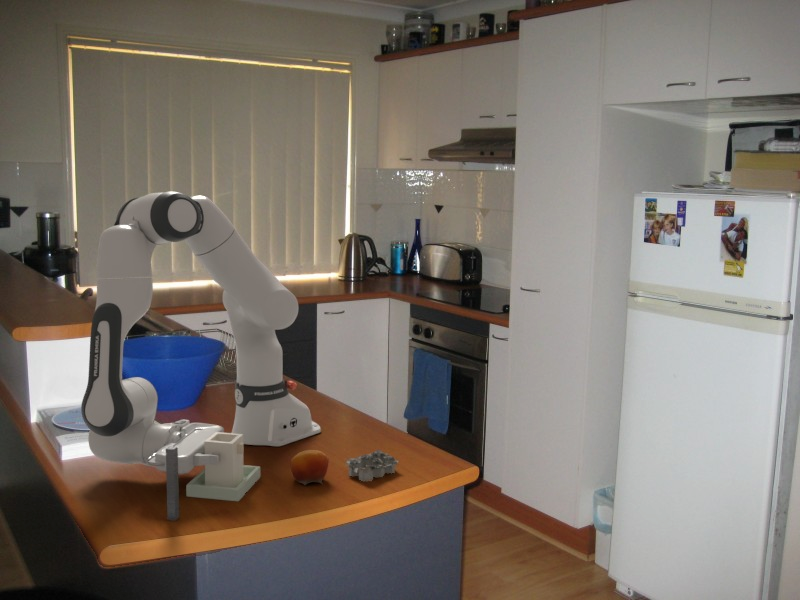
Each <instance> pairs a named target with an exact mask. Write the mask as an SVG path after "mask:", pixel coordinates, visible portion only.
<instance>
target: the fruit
mask: <svg viewBox="0 0 800 600" xmlns="http://www.w3.org/2000/svg"><path fill="white" fill-rule="evenodd" d="M329 463H330V461H329V457H328V455H327V454H326V453H325V452H323V451H321V450H317V449H305V450H302V451H300V452H298V453H297V454H295V455H294V456H293V457H292V458H291V460H290V469H291V473H292V476H293V478H294V480H295V481H296V482H297V483H299V484H302V485H304V486H306V485H308V484H310V483H319V484H322V486H324V484H323V480H324V479H325V476H326V475H327V472H328V468H329Z"/></svg>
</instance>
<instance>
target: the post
mask: <svg viewBox="0 0 800 600" xmlns="http://www.w3.org/2000/svg"><path fill="white" fill-rule="evenodd" d="M165 473H166V474H165V475H166V509H167V512H166V514H167V521H174V522H176V521H177V520H178V519H179V518H180V497H179V496H180V495H179V492H180V489H179V488H180V487H179V474H178V447H175V446H169V447H168V448H166V472H165Z"/></svg>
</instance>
